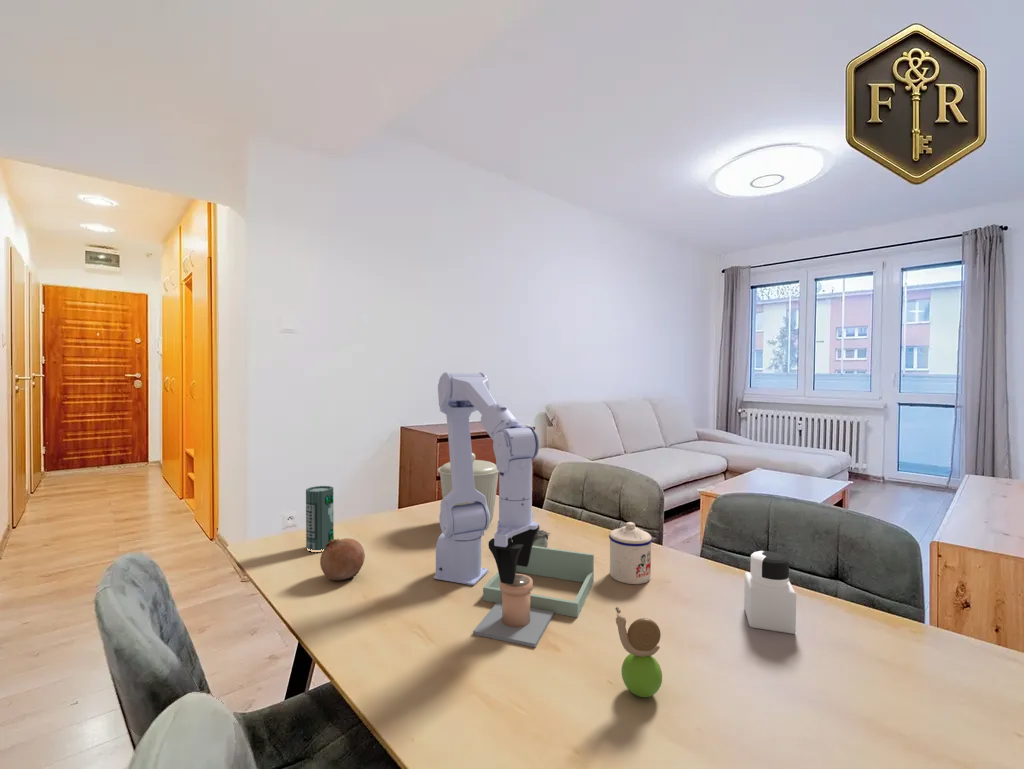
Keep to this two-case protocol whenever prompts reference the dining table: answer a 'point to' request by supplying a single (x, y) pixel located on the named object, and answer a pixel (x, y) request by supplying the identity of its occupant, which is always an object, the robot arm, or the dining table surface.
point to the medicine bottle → (770, 593)
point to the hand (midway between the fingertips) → (514, 573)
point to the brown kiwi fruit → (342, 559)
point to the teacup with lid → (630, 554)
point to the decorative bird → (541, 539)
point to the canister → (475, 481)
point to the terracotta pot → (516, 601)
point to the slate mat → (519, 635)
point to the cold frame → (554, 566)
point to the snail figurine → (640, 655)
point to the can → (319, 517)
